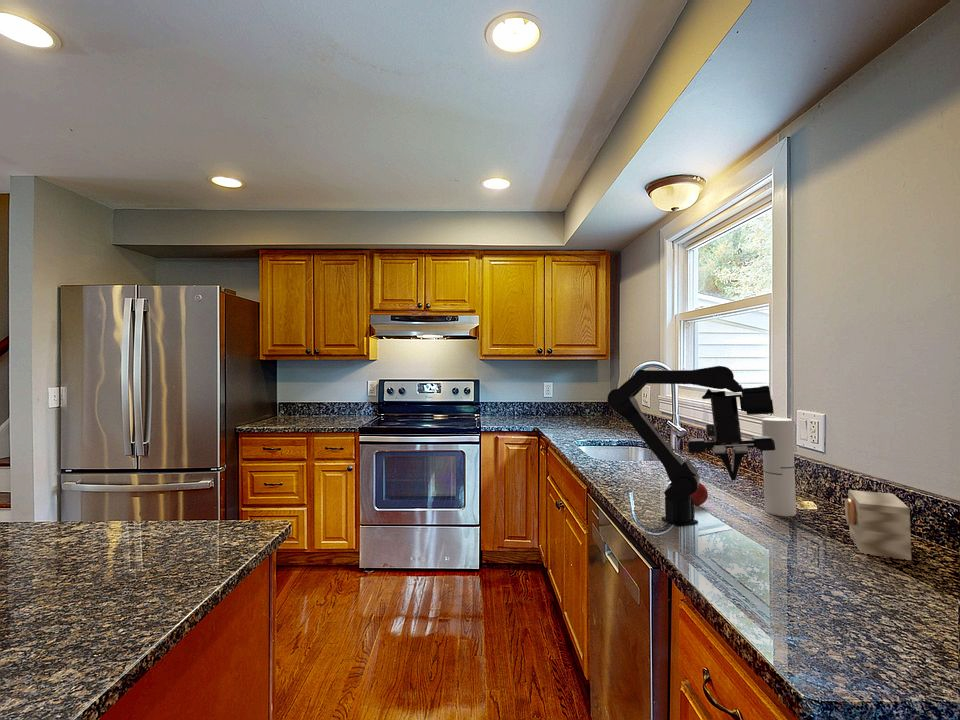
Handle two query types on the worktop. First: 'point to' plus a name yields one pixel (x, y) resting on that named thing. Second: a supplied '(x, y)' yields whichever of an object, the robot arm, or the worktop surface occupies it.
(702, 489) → the onion
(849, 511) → the peg
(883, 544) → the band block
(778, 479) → the cylindrical container
